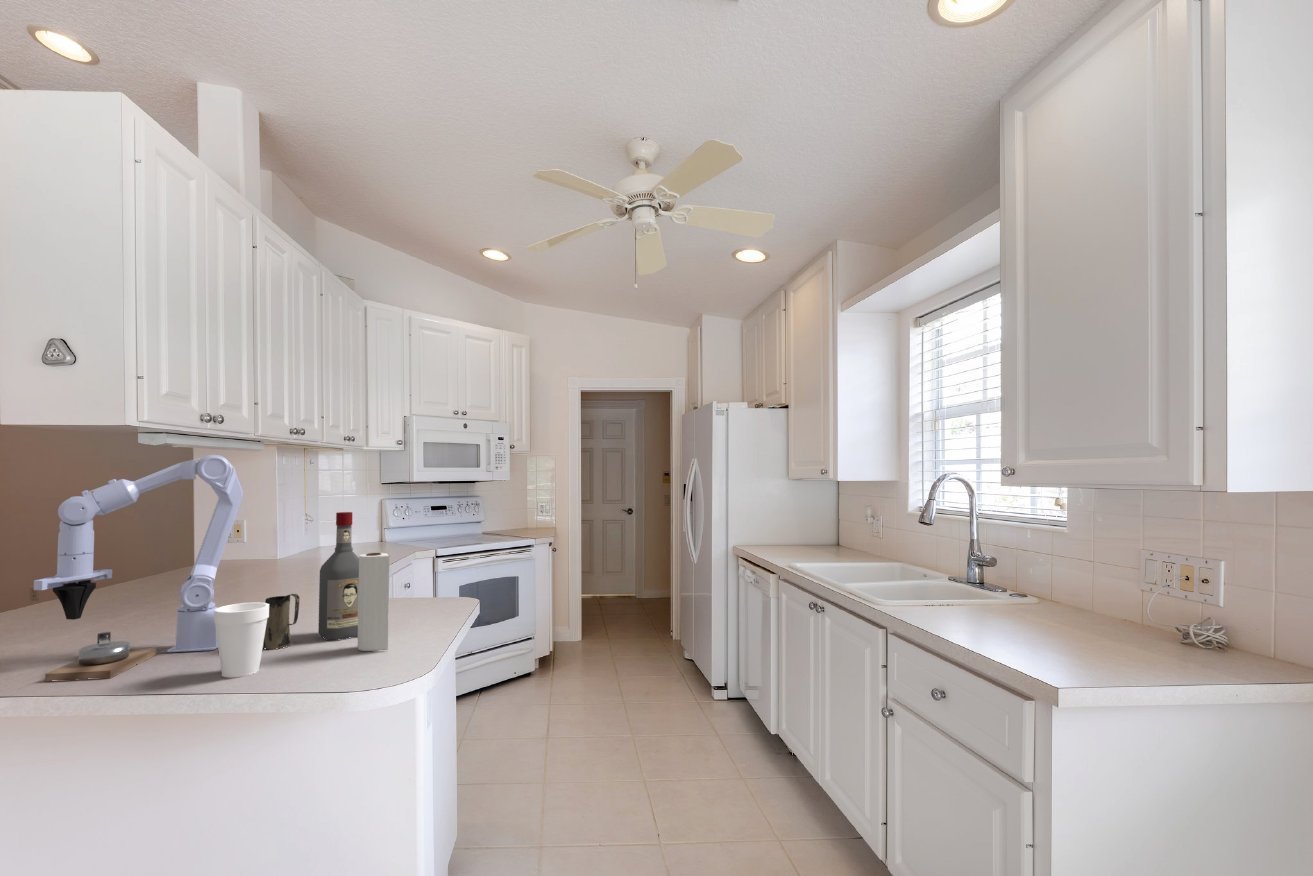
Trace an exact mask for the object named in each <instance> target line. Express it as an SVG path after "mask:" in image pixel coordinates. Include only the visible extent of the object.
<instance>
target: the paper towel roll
mask: <svg viewBox="0 0 1313 876" xmlns="http://www.w3.org/2000/svg"><path fill="white" fill-rule="evenodd" d="M358 558H359V595H358V637H357V650H358V651H360V652H361V651H364V652H375V651H377V652H378V651H388V650H389V625H390V624H389V614H390V611H389V609H390V607H389V605H390V562H391V561H390V555H389V554H388V553H387V552H386V553H385V552H369V553H362V554H359V555H358Z"/></svg>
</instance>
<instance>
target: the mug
mask: <svg viewBox="0 0 1313 876" xmlns="http://www.w3.org/2000/svg"><path fill="white" fill-rule="evenodd" d="M291 596H292V597H294V599H295V600H294V603H295V604H294V616H293V622H292V623H290V606H291ZM264 603H267V604H269V618H267V624H266V630H265V636H264V642H263V648H266V649H276V648H282V649H284V648H283V647H286V646H289V645H290V644H292V643H291V635H290V634H291V633H290V630H291V629H290V626H292V625H295V624H297V622H298V619H299V611H300V596H299V595H298V594H297V593H291V594H287V595H279V596H278V595H276V596H270V597H267V598H265V602H264ZM290 646H291V645H290ZM290 646H289V647H290ZM263 648H262V649H263ZM286 648H287V647H286ZM276 650H277V649H276Z"/></svg>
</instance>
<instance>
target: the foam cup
mask: <svg viewBox="0 0 1313 876" xmlns="http://www.w3.org/2000/svg"><path fill="white" fill-rule="evenodd" d="M218 607H219V606H218ZM267 618H269V604H267V603H265V602H241V603H233V604H228V605H223V606H220V607H219V608H216V609H215V611H214V623H215V625H216V633H217V641H218V648H217V649H218V656H219V665H220V671H221V677H223V678H229V679H233V678H242V677H247V676H251V675H254V674H257V673H258V672H259V671H260V665H261V660H262V654H263V642H264V636H265V630H266V624H267ZM257 671H258V672H257ZM253 673H254V674H253Z"/></svg>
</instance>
